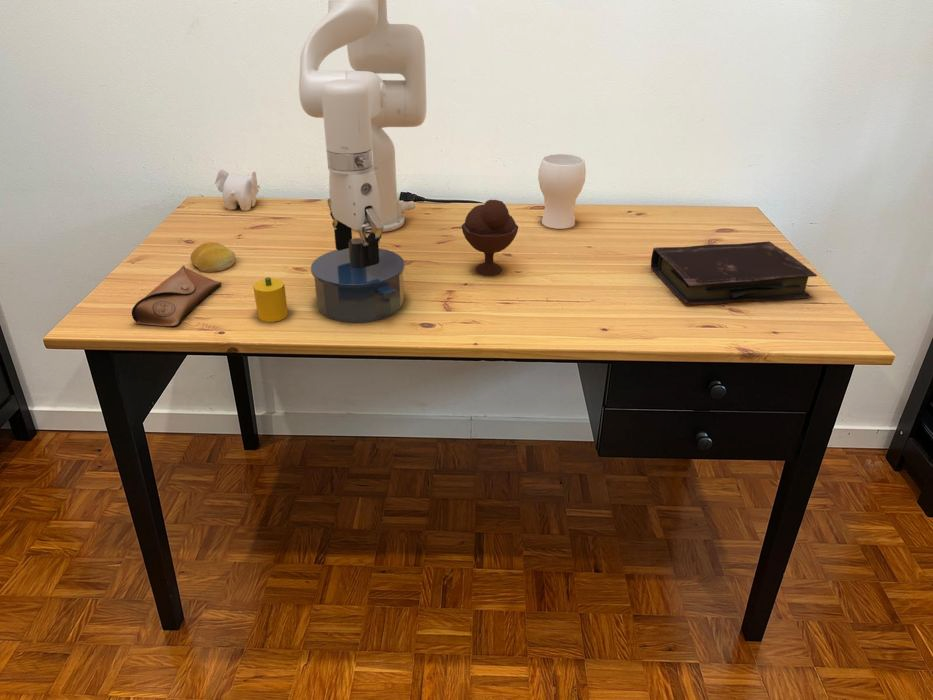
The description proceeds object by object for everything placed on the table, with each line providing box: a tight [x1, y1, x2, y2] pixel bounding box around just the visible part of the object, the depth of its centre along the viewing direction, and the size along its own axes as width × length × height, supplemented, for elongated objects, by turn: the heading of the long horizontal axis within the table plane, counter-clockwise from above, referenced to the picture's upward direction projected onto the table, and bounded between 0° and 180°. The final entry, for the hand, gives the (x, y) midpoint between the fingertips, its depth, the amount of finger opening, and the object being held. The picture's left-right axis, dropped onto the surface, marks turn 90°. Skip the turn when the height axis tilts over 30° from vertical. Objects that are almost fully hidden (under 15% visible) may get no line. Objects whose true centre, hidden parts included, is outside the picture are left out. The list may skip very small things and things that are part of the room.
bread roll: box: [190, 241, 236, 273], centre depth 147 cm, size 8×9×4 cm
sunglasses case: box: [131, 265, 222, 327], centre depth 132 cm, size 18×7×7 cm
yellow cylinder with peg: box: [252, 276, 289, 323], centre depth 127 cm, size 5×5×7 cm
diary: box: [650, 241, 818, 305], centre depth 141 cm, size 19×25×5 cm
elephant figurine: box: [214, 169, 261, 212], centre depth 176 cm, size 10×12×9 cm
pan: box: [313, 271, 405, 324], centre depth 132 cm, size 16×21×7 cm
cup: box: [537, 153, 587, 230], centre depth 166 cm, size 11×11×15 cm
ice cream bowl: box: [461, 199, 519, 277], centre depth 142 cm, size 11×11×15 cm
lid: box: [310, 237, 406, 288], centre depth 129 cm, size 17×17×6 cm
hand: (357, 256), depth 129 cm, fingers open, 8 cm apart
